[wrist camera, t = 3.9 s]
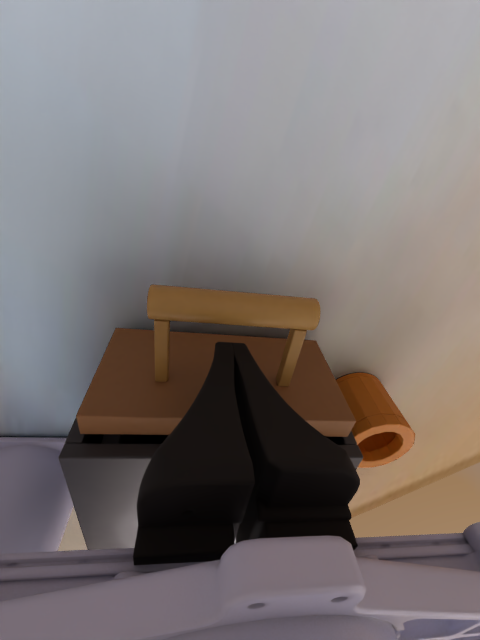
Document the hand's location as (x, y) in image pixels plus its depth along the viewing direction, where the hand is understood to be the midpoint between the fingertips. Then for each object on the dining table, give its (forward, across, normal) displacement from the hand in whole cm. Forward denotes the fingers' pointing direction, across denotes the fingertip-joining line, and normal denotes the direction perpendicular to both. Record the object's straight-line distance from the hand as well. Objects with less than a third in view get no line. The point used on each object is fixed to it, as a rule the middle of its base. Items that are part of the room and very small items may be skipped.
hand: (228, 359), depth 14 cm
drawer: (+4, 0, +5) cm, 7 cm away
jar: (+5, -11, +7) cm, 14 cm away
